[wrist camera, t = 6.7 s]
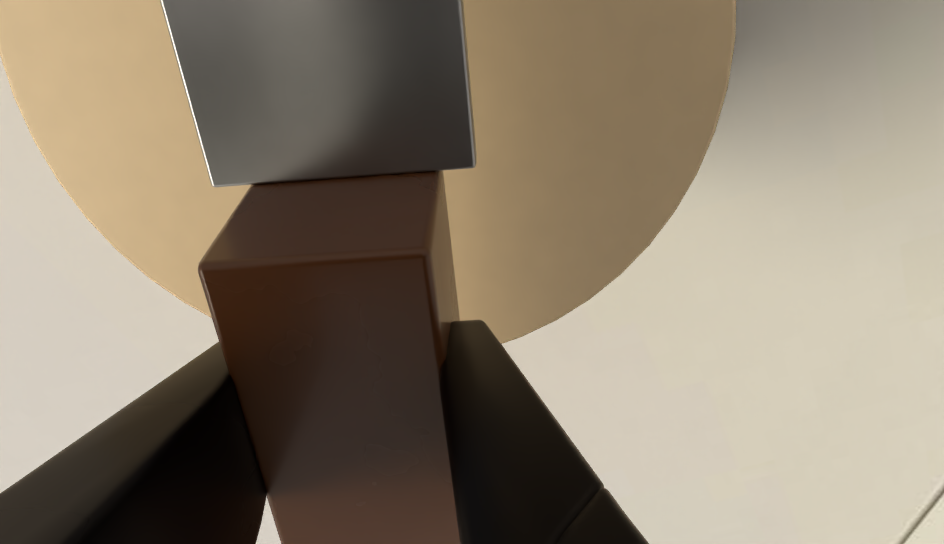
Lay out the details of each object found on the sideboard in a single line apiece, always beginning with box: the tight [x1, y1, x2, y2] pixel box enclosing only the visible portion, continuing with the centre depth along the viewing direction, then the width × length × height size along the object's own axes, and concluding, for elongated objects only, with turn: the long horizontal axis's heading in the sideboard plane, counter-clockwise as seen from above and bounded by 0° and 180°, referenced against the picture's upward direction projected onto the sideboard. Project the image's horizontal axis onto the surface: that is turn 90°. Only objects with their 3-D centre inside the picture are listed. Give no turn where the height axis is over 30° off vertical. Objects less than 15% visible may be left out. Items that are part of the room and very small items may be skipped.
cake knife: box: [160, 0, 477, 544], centre depth 7 cm, size 17×3×2 cm, turn 5°
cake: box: [0, 0, 736, 344], centre depth 12 cm, size 10×10×5 cm
